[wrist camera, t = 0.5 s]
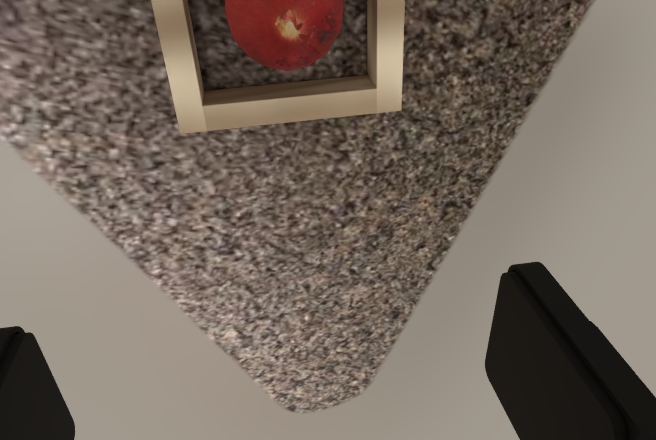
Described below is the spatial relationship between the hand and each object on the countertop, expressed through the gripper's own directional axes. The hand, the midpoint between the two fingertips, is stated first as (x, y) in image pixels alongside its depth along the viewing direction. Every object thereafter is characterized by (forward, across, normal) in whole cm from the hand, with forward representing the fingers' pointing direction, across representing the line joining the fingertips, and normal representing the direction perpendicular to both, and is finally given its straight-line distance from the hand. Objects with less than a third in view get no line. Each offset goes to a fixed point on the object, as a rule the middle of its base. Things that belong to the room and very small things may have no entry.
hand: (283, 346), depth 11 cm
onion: (+24, -2, -3) cm, 24 cm away
